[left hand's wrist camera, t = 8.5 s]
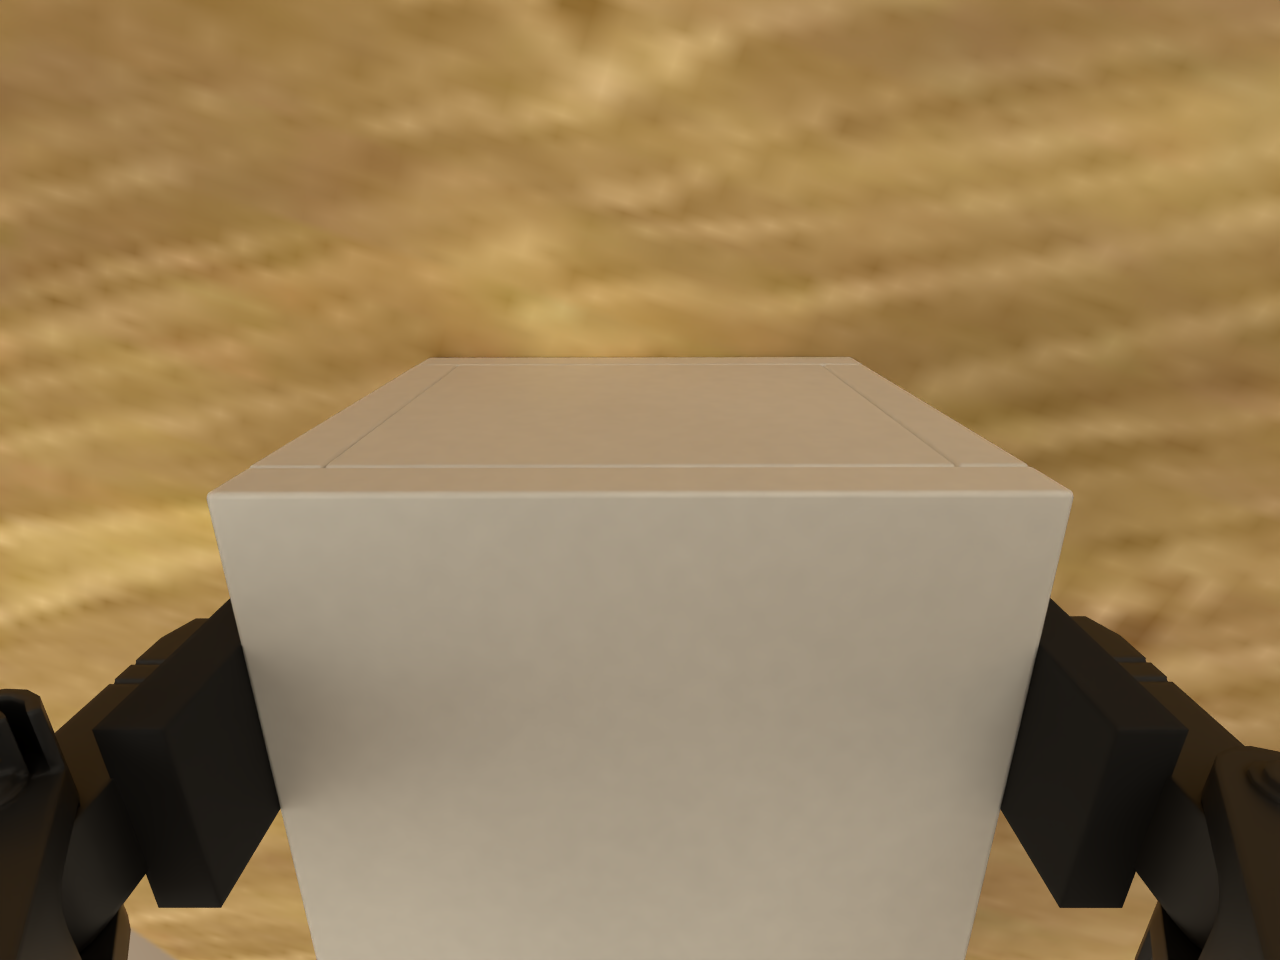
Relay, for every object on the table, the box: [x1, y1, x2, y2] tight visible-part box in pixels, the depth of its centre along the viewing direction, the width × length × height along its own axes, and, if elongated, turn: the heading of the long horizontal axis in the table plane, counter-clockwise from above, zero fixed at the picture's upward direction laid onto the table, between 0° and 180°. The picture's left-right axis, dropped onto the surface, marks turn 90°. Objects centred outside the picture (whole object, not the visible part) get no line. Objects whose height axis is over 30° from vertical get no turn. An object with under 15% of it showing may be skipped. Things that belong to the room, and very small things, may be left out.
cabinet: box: [207, 357, 1073, 960], centre depth 15 cm, size 20×10×9 cm, turn 0°
